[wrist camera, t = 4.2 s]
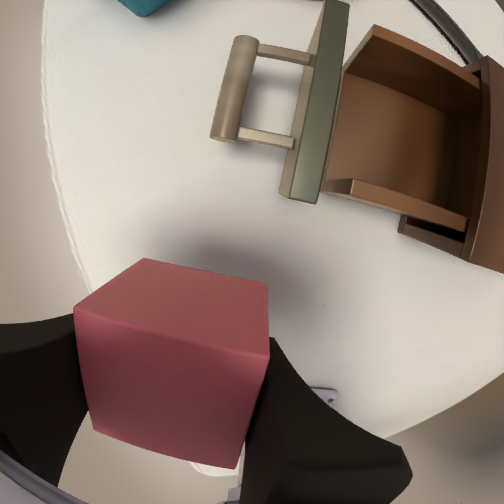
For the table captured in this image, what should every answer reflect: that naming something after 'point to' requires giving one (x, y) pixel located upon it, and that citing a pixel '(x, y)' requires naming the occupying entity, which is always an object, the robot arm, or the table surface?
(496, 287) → the table surface
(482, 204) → the cabinet
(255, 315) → the block
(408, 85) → the drawer
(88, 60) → the table surface
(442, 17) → the knife
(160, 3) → the block
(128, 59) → the table surface
